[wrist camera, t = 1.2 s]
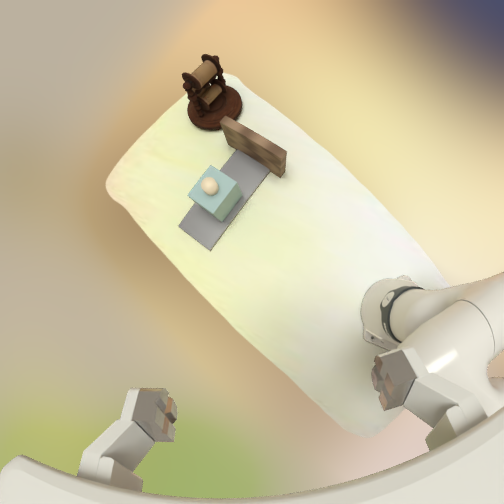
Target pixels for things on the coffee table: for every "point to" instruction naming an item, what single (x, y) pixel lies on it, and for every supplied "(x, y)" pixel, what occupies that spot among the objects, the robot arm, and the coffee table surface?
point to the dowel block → (216, 193)
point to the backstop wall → (254, 145)
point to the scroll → (210, 95)
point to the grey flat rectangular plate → (248, 180)
